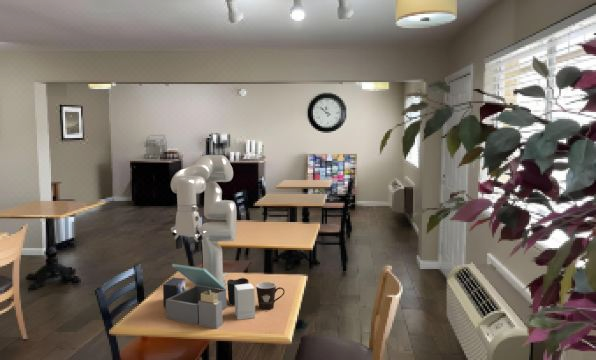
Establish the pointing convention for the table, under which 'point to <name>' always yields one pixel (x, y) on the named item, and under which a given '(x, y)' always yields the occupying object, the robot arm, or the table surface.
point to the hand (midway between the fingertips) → (188, 249)
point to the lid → (199, 276)
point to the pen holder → (231, 288)
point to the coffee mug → (267, 295)
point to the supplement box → (244, 301)
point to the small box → (173, 288)
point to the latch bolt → (209, 296)
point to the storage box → (196, 307)
